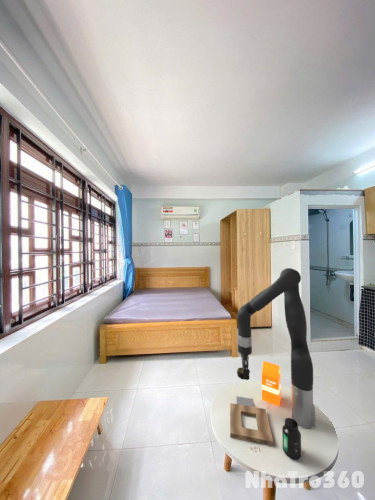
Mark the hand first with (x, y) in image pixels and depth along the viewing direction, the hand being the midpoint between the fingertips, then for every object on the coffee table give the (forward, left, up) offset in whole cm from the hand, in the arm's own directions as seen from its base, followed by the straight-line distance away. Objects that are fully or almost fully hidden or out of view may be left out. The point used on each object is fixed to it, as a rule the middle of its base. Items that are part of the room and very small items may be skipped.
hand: (244, 373), depth 106 cm
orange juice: (-15, -7, -16) cm, 23 cm away
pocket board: (-1, +13, -16) cm, 21 cm away
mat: (0, 0, -16) cm, 16 cm away
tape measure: (0, 0, -2) cm, 2 cm away
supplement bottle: (-17, +23, -16) cm, 33 cm away
